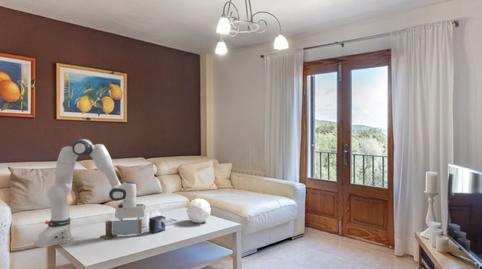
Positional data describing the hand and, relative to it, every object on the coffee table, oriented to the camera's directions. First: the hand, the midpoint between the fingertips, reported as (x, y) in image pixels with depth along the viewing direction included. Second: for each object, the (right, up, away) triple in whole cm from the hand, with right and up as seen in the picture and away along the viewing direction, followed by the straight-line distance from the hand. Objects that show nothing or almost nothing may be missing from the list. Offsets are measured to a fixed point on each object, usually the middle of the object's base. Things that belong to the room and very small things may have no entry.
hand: (130, 223), depth 237 cm
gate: (-1, -7, -2) cm, 7 cm away
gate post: (-13, -8, -4) cm, 16 cm away
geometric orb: (+45, -8, +34) cm, 57 cm away
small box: (+17, -8, +9) cm, 21 cm away
